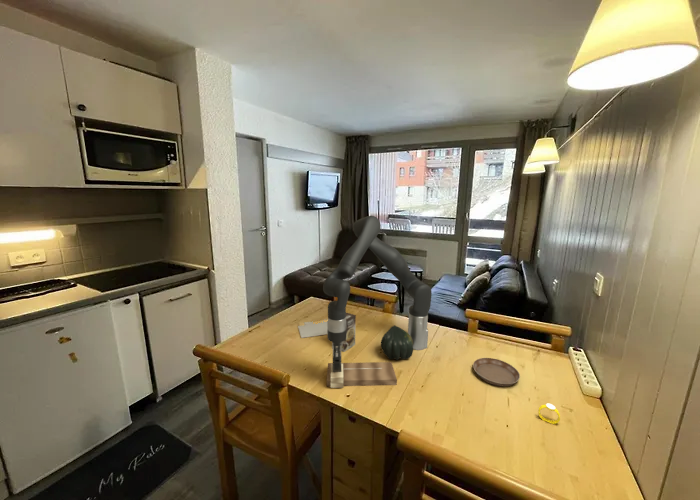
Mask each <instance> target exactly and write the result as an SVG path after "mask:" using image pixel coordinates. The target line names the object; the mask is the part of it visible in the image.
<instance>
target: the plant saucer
mask: <svg viewBox="0 0 700 500" xmlns="http://www.w3.org/2000/svg"><path fill="white" fill-rule="evenodd" d="M472 363H473V364H472V367H473V369H474V371H475V373H476V374H477V376H478V377H479V378H480V379H481V380H483V381H484V382H486V383H488V384H491V385H493V386H497V387H509V386H512V385H514V384H516V383H517V382H518V381H520V377H521V376H520V373H519V370H517V368H515V366H513V365H512V364H510V363H508V362H506V361H504V360H501V359H498V358H491V357H481V358H477V359H476V360H474V361H473V362H472Z"/></svg>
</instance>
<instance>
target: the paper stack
mask: <svg viewBox="0 0 700 500" xmlns="http://www.w3.org/2000/svg"><path fill="white" fill-rule="evenodd" d="M313 321H314V320H313ZM313 321H312V322H311V321H304V322H303V324H304V325H303V324H302V325H298V326H297V328H298V330H299V331H298V332H299V335H300V337H301V339H302V338H304V339H305V338H309V337H311V338H312V337H317V336H323V335H327V322H324V321H323V323H322V322H321V323H318V324H315V323H314V324H313Z"/></svg>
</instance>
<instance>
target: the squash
mask: <svg viewBox="0 0 700 500" xmlns="http://www.w3.org/2000/svg"><path fill="white" fill-rule="evenodd" d="M380 347H381V351H382V352H383V354H384V356H385V355H386V357H387V358H388V359H389V360H396V361H397V360H400V359H404V360H406V359H410V358H411V357H412V355H413V354H414V349H413V340H412V338H411V336H410V335H409V334H408V331H406V330H404V329H403V328H401V327H398V326H397V325H392V326H391V327H390V328H389V329H388V330H387V331H386V332H385V333H383V336H382V337H381V340H380Z"/></svg>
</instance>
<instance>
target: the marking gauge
mask: <svg viewBox="0 0 700 500" xmlns="http://www.w3.org/2000/svg"><path fill="white" fill-rule="evenodd" d="M333 361H334V356H333V355H332V363H333V364H331V386H330V388H331V389H332V388H334V389H335V388H340V389H342V388H344V386H343V364H341V363H342V355H341V356H340V370H334V362H333Z"/></svg>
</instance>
